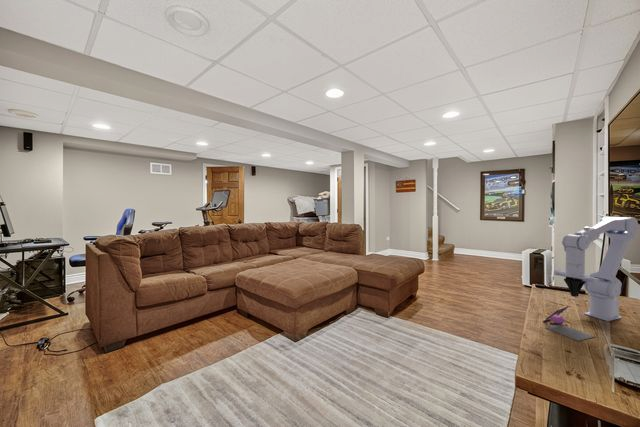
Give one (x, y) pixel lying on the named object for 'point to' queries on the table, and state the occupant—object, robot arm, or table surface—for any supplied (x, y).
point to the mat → (570, 332)
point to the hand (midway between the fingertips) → (574, 296)
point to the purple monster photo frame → (557, 317)
